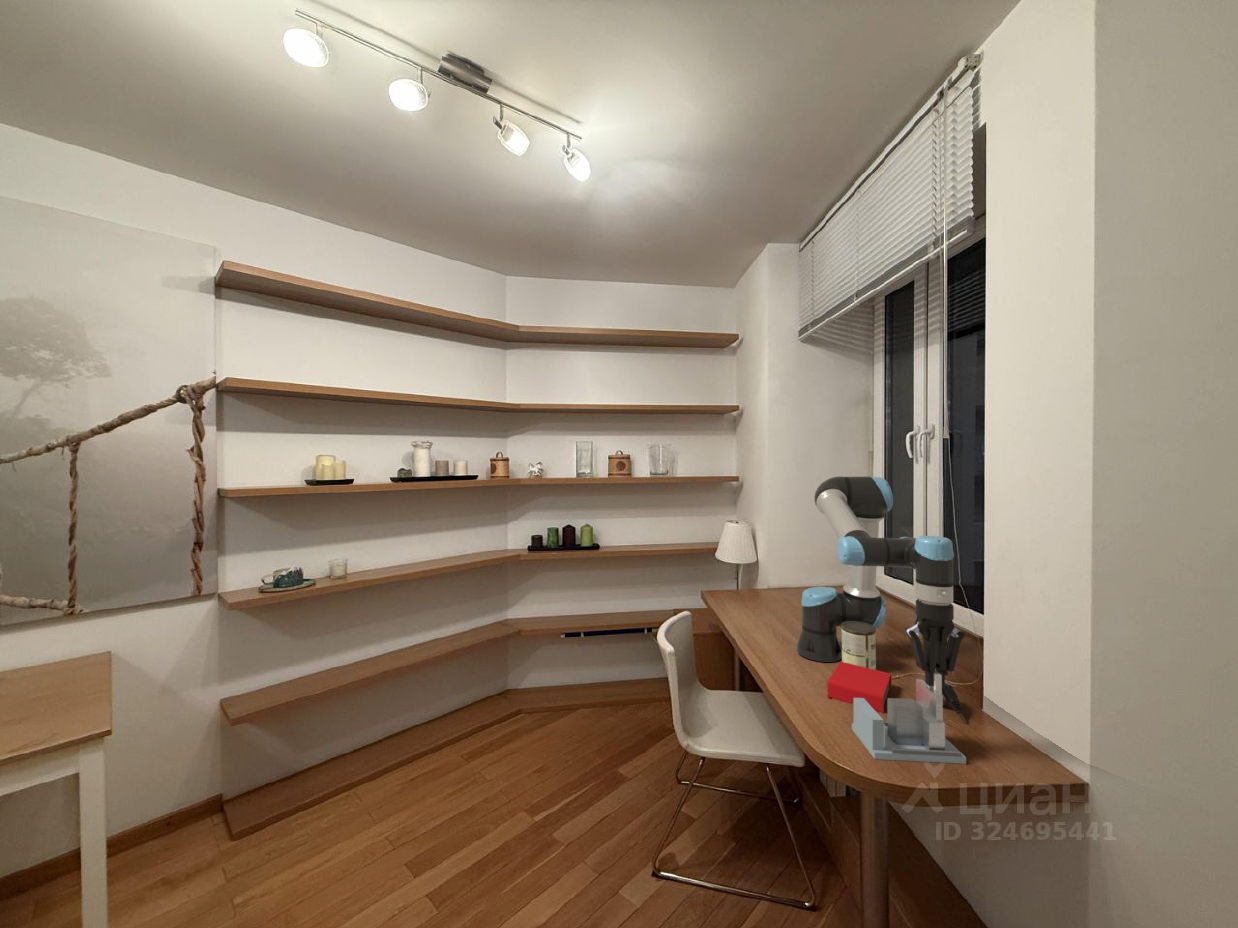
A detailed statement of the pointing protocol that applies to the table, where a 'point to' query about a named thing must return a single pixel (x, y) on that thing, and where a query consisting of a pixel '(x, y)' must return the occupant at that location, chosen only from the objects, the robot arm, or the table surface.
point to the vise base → (883, 747)
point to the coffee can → (858, 644)
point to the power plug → (952, 700)
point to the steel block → (905, 721)
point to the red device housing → (859, 685)
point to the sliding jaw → (931, 716)
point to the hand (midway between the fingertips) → (935, 698)
